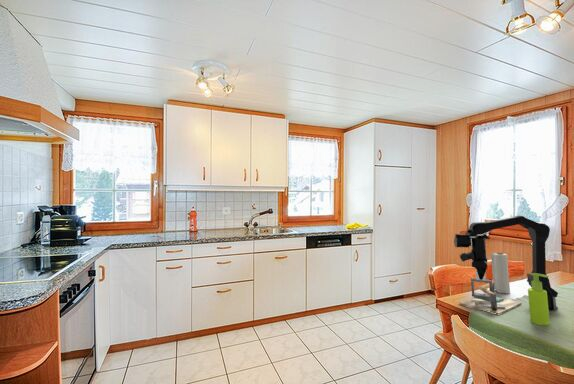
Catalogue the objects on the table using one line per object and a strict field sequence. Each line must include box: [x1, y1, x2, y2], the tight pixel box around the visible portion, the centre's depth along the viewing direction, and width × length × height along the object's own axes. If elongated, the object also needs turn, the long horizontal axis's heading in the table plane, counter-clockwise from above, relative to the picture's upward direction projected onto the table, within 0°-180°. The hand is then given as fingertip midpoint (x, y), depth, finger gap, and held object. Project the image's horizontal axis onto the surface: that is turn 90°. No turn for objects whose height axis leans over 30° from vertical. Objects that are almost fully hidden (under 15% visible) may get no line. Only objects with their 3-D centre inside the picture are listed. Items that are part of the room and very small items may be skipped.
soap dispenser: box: [527, 272, 551, 326], centre depth 113 cm, size 6×7×20 cm
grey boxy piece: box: [470, 270, 493, 299], centre depth 138 cm, size 4×8×12 cm, turn 54°
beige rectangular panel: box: [458, 292, 523, 315], centre depth 135 cm, size 17×24×2 cm
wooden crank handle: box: [479, 282, 497, 311], centre depth 135 cm, size 6×23×7 cm, turn 145°
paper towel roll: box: [490, 252, 511, 294], centre depth 155 cm, size 7×6×21 cm
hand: (481, 278), depth 138 cm, fingers closed on grey boxy piece, 2 cm apart
